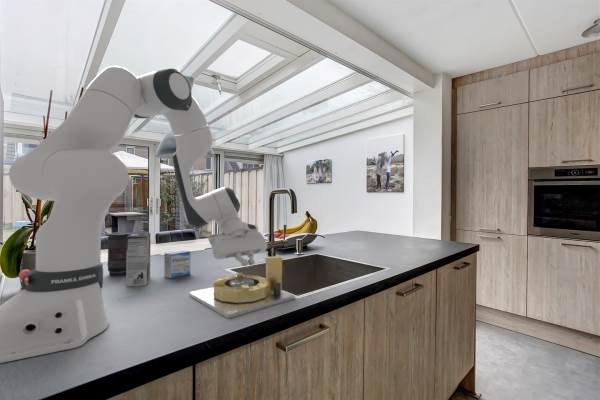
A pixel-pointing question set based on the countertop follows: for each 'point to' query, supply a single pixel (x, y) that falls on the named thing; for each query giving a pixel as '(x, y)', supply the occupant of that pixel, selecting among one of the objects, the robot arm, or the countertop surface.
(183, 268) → the medicine box
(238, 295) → the lens holder
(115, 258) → the camera lens
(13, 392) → the countertop surface
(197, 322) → the countertop surface
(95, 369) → the countertop surface
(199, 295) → the base plate
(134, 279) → the coffee box
